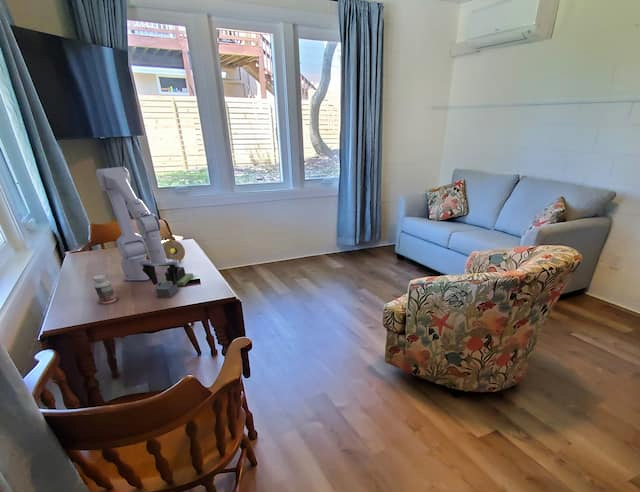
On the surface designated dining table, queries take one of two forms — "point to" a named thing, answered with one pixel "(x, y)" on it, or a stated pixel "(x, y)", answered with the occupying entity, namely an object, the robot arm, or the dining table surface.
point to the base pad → (182, 280)
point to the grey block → (166, 289)
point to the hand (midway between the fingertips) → (165, 283)
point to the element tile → (170, 250)
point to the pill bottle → (104, 289)
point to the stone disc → (178, 248)
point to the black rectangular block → (179, 274)
